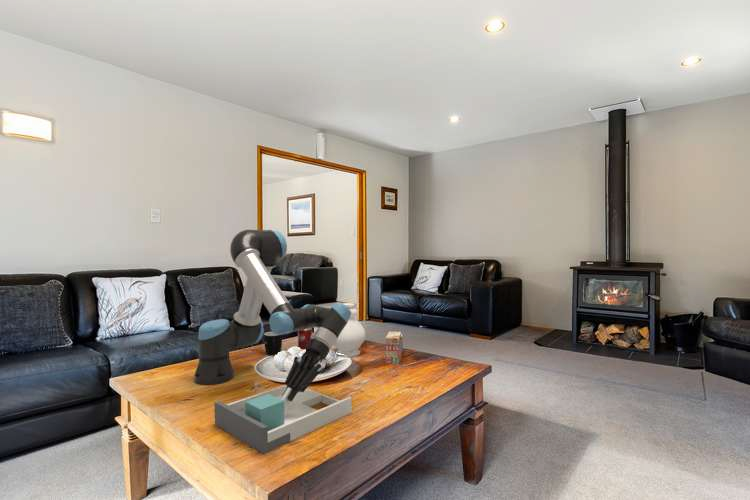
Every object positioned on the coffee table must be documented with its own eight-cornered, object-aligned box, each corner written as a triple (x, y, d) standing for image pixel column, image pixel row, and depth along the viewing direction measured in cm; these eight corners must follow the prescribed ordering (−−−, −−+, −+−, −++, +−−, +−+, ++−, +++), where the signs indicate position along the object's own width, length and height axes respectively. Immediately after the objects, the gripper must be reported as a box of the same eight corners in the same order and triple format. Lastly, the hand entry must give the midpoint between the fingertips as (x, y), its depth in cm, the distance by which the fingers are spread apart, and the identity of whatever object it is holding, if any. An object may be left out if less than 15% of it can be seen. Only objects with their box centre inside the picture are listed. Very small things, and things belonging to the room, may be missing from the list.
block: (268, 416, 123) (268, 394, 123) (284, 424, 118) (284, 400, 118) (245, 425, 117) (245, 401, 117) (261, 434, 112) (260, 409, 112)
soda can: (300, 354, 199) (300, 330, 198) (296, 350, 205) (296, 327, 205) (314, 352, 202) (314, 329, 202) (309, 349, 208) (309, 326, 208)
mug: (263, 351, 203) (263, 332, 203) (281, 350, 206) (281, 330, 206) (264, 358, 192) (264, 337, 191) (283, 356, 194) (283, 336, 194)
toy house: (390, 350, 206) (390, 327, 206) (402, 351, 205) (402, 327, 205) (385, 363, 185) (385, 337, 184) (398, 364, 184) (398, 337, 183)
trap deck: (301, 392, 149) (301, 374, 149) (351, 412, 132) (351, 391, 132) (214, 424, 123) (214, 402, 123) (262, 454, 106) (262, 428, 106)
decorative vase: (355, 360, 190) (355, 307, 189) (323, 355, 197) (323, 305, 196) (371, 350, 206) (371, 302, 205) (340, 346, 213) (340, 300, 212)
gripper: (340, 353, 131) (300, 421, 119) (314, 346, 140) (274, 409, 128) (328, 340, 127) (286, 409, 115) (302, 334, 136) (260, 397, 123)
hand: (280, 409), depth 121 cm, fingers closed
